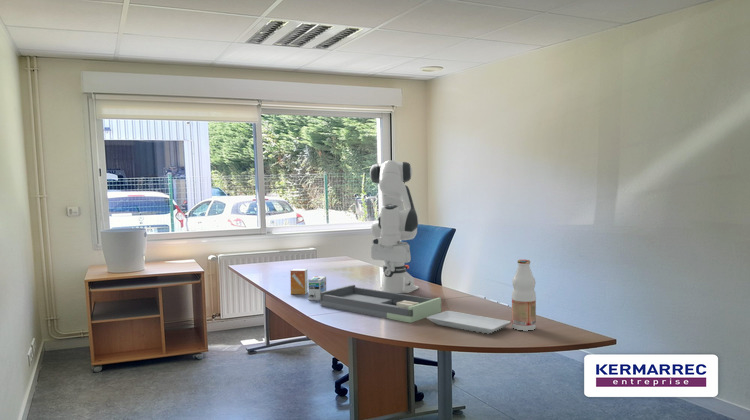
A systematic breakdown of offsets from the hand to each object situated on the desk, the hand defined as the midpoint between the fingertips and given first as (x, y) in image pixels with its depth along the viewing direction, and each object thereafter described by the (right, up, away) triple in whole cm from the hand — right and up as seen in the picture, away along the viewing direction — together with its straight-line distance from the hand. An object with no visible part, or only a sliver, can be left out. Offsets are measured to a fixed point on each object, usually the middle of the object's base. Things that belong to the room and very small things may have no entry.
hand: (390, 270), depth 253 cm
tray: (+31, -21, -21) cm, 43 cm away
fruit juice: (+53, -21, -26) cm, 63 cm away
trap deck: (-5, -19, +12) cm, 23 cm away
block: (+7, -18, -5) cm, 20 cm away
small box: (-48, -18, +49) cm, 71 cm away
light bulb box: (-37, -18, +36) cm, 55 cm away
